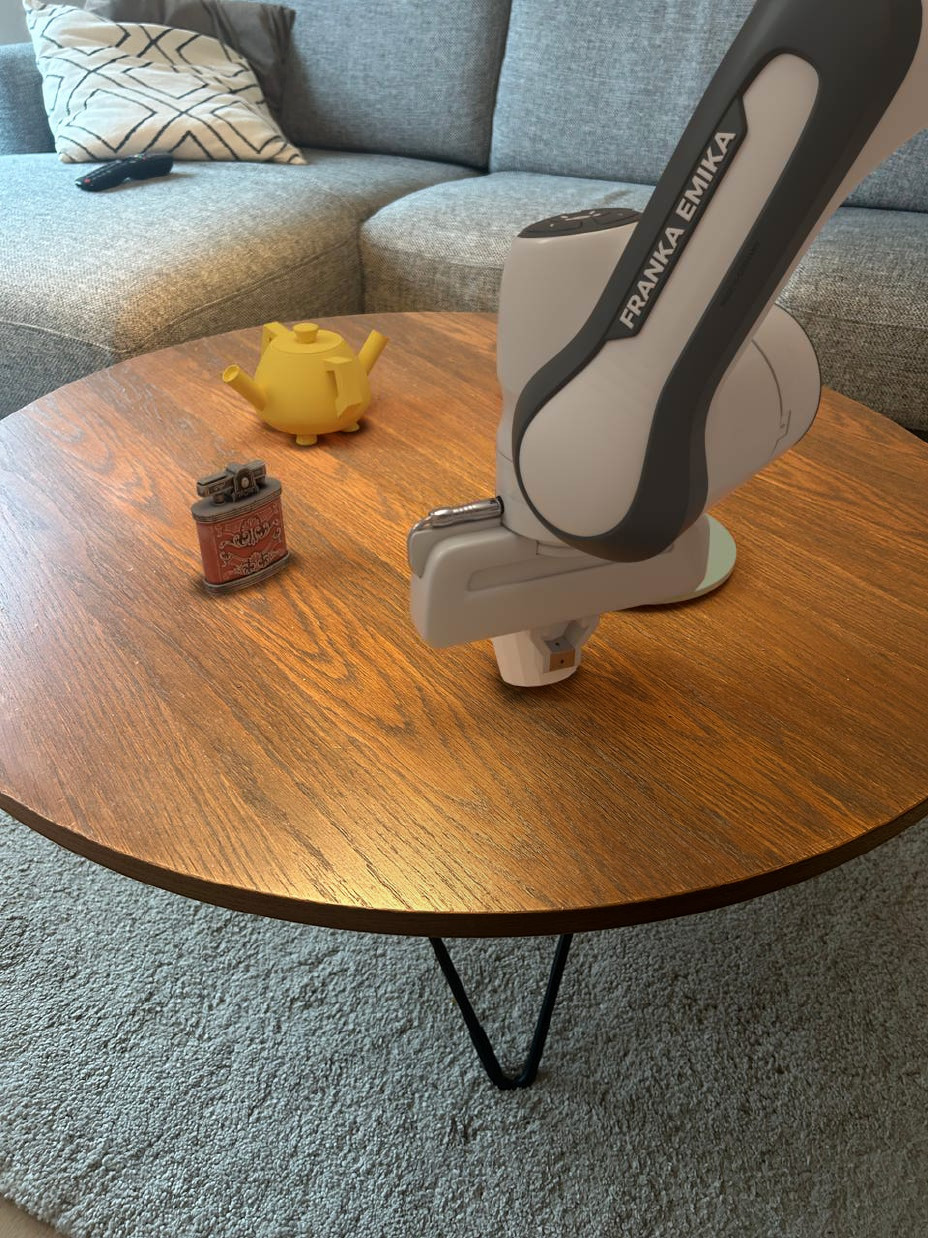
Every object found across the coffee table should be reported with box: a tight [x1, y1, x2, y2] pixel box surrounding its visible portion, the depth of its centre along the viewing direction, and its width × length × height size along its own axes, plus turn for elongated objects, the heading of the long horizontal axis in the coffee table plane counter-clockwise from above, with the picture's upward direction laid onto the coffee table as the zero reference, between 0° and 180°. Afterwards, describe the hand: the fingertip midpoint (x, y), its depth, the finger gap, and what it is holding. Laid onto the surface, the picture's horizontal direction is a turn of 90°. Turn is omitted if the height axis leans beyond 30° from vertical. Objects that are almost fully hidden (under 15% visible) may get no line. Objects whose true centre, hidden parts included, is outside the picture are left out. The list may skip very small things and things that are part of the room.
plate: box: [648, 513, 738, 605], centre depth 88 cm, size 18×18×2 cm
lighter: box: [190, 459, 291, 596], centre depth 83 cm, size 8×3×10 cm, turn 135°
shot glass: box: [490, 621, 578, 687], centre depth 72 cm, size 7×7×7 cm
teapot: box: [221, 320, 390, 446], centre depth 107 cm, size 20×18×11 cm
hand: (556, 665), depth 70 cm, fingers closed, pressing on shot glass
